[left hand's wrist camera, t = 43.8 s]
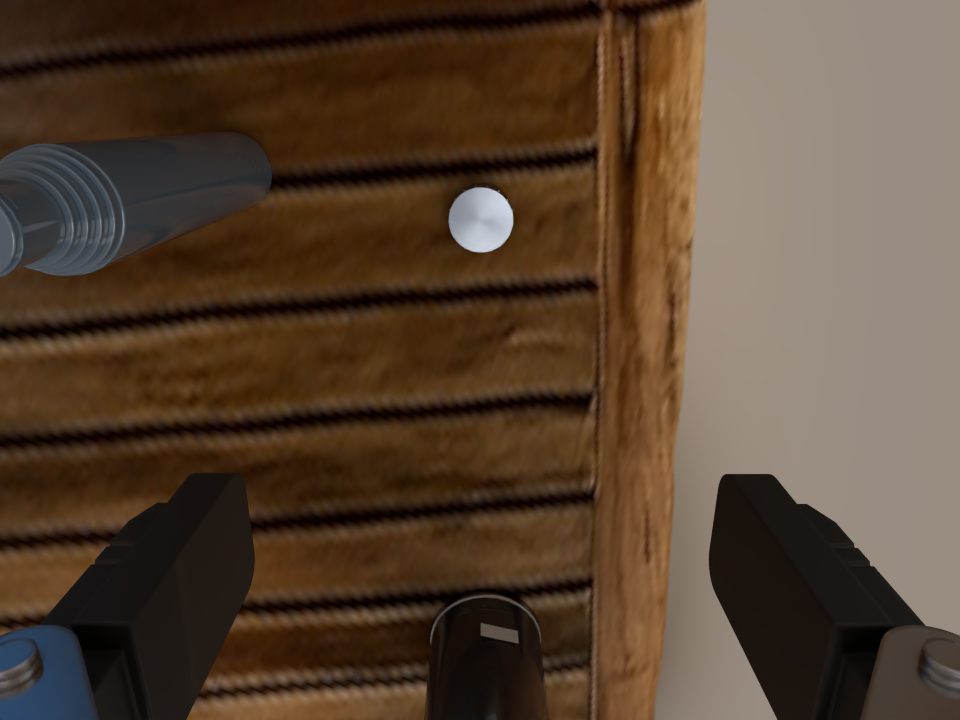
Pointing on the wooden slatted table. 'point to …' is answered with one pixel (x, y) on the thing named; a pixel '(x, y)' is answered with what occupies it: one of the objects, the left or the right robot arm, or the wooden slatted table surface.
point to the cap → (480, 218)
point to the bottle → (121, 196)
